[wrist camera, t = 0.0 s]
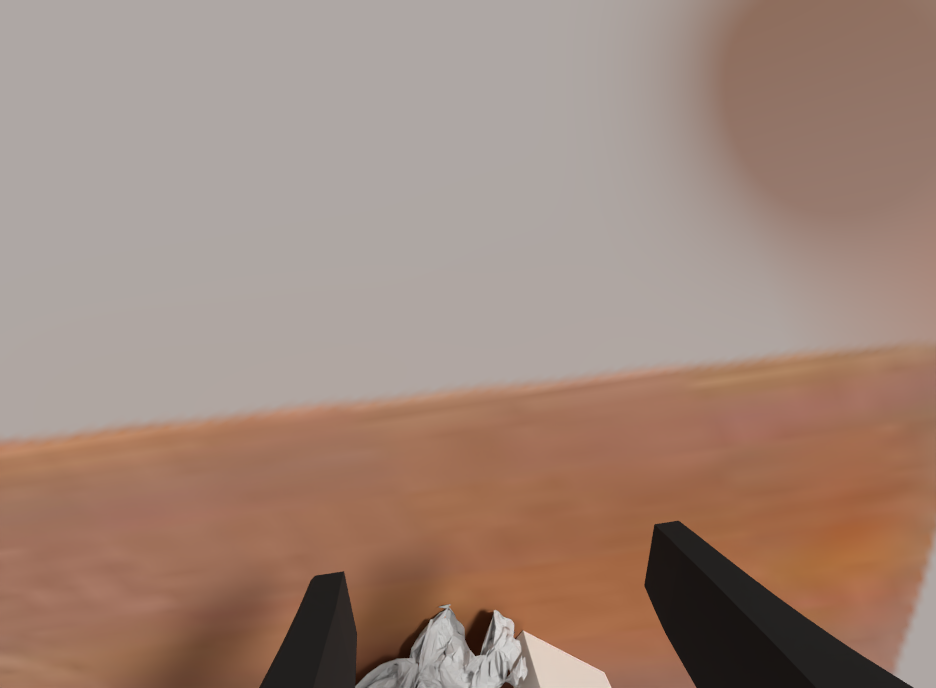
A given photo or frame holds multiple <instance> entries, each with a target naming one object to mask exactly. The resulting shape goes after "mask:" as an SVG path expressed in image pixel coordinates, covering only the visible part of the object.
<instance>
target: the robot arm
mask: <svg viewBox="0 0 936 688" xmlns="http://www.w3.org/2000/svg"><path fill="white" fill-rule="evenodd" d="M644 586H645V588H646V590H647V593H648V595H649V597H650V600H651V602H652V604H653V607H654V609H655V611H656V614H657V616H658V618H659V620H660V622H661V625H662V627H663V629H664V631H665V633H666V635H667V637H668V638H669V640H670V642H671V644H672V646H673V647H674V649H675V651H676V653H677V654H678V656H679V658H680V660H681V661H682V663H683V665H684V667H685V668H686V670H687V672H688V674H689V675H690V677H691V679H692V680H693V682H694V684H695V686H696V687H697V688H913V687H912V686H910V685H908V684H907V683H905V682H903V681H902V680H900V679H899V678H897V677H895V676H894V675H892V674H891V673H889V672H887V671H886V670H884V669H883V668H881V667H879V666H878V665H876V664H875V663H873V662H872V661H870V660H868V659H867V658H865V657H864V656H862V655H860V654H859V653H857V652H856V651H854V650H853V649H851V648H850V647H848V646H847V645H845V644H844V643H842V642H841V641H839V640H838V639H836V638H835V637H833V636H832V635H830V634H829V633H828V632H826V631H825V630H823V629H822V628H820V627H819V626H817V625H816V624H815V623H813V622H812V621H810V620H809V619H807V618H806V617H804V616H803V615H802V614H800V613H799V612H797V611H796V610H795V609H793V608H792V607H791V606H789V605H788V604H786V603H785V602H784V601H782V600H781V599H780V598H778V597H777V596H775V595H774V594H773V593H771V592H770V591H769V590H767V589H766V588H765V587H763V586H762V585H761V584H759V583H758V582H757V581H755V580H754V579H753V578H752V577H750V576H749V575H748V574H746V573H745V572H744V571H742V570H741V569H740V568H739V567H737V566H736V565H735V564H733V563H732V562H731V561H730V560H728V559H727V558H726V557H724V556H723V555H722V554H721V553H719V552H718V551H717V550H716V549H714V548H713V547H712V546H710V545H709V544H708V543H707V542H705V541H704V540H703V539H702V538H700V537H699V536H698V535H696V534H695V533H694V532H693V531H691V530H690V529H689V528H687V527H686V526H685V525H683V524H682V523H681V522H680V521H674V522H667V523H661V524H655V525H654V531H653V537H652V543H651V549H650V555H649V561H648V567H647V573H646V579H645V585H644ZM356 648H357V632H356V627H355V622H354V617H353V613H352V608H351V603H350V598H349V593H348V589H347V584H346V579H345V574H344V572H337V573H331V574H324V575H317V576H315V577H314V578H313V579H312V580H311V581H310V584H309V586H308V588H307V591H306V593H305V596H304V598H303V600H302V602H301V605H300V607H299V609H298V611H297V614H296V616H295V618H294V620H293V622H292V624H291V626H290V628H289V631H288V633H287V635H286V637H285V639H284V641H283V643H282V645H281V647H280V649H279V651H278V653H277V655H276V657H275V659H274V660H273V662H272V664H271V666H270V668H269V670H268V672H267V674H266V676H265V678H264V680H263V682H262V684H261V685H260V687H259V688H355V677H356Z"/></svg>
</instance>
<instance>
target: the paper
mask: <svg viewBox="0 0 936 688" xmlns="http://www.w3.org/2000/svg"><path fill="white" fill-rule="evenodd" d="M450 605H451V604H449V605H444V606H440V607H441V608H447V609H446V610H445V611H442V612H440V613H439V614H438V615H437V616H436V617H435V618H434V619H430V622H429V623H428V624H427V626H426V627H425V628H424V630H423V631H422V632H421V633H420V634H419V636H418V638H417V639H416V641H415V643H414V645H413V647H412V648H411V653H410V658H403V659H398V658H396V659H395V660H391V661H389V662H386V663H385V662H384V663H383V664H381V665H379V666H378V667H377V668H375V669H374V670H372V671H371V672H369V673H368V674H367V675H366V676H365V677H364V678H363V679H362V680H361V681H360V682H359V683H358V684H357V685H356V686H355V688H500V687H501V686H502V685H503V684H504V683H505V682H508V683H510V684H511V685H513V686H514V687H520V686H518V681H519V678H520V677H521V676H522V678H523V681H524V679H525V677H526V676H527V670H528V669H527V667H526V661H525V657H524V658H523V660H522V656H521V658H520V660H519V661H518V663H517V666H516V667H515V668H514V669H513V670H512V672H511V673H510V675H509V676H508V677H507V673H508V669H509V670H510V671H511V669H512V666H513V663H514V662H515V661H516V659H517V658H518V656H519V655H520V653H521V644H520V641H518V640H515V638H513V634H514V633H515V632H514V623H513V621H512V620H511V619H508V618H505V617H503V616H502V615H501V614H500V613H499V611H496V610H494V615H493V618H492V620H491V623H490V625H489V628H488V631H487V634H486V636H485V639H484V642H483V646H482V651H481V654H480V655H479V656H475V655H474V654H473V653H472V652H471V650H470V649H469V647H468V645H467V643H466V641H465V629H464V627H463V625H462V624H461V623H460V622H459V621H458V620H456V618H455V614H454V613H453V611H452V610H451V609H450V608H449V607H448V606H450ZM448 609H450V610H448ZM445 616H446V618H444V617H445ZM417 662H418V663H419V667H418V663H417ZM506 677H507V678H506Z"/></svg>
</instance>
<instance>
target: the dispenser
mask: <svg viewBox="0 0 936 688" xmlns="http://www.w3.org/2000/svg"><path fill="white" fill-rule="evenodd" d="M515 640H518V641H520V644H521V653H520V655H519V656H518V658H517V659H516V661H515V662H514V663H513V666H512V669H511V671H510V670H509V671H510V673H511V672H512V670H513V669H514V668H515V667H516V666H517V663H518V661H519V660H520V658H521V656H522V660H523V658H524V657H525V661H526V667H527V669H528V670H527V676H526V677H525V679H524V681H523V678H522V676H521V677H520V678H519V681H518V686H520V687H514V686H513V687H514V688H611V686H610V684H609V682H608V679H607V677H606V675H605V673H604V672H602V671H600V670H599V669H597V668H595V667H593V666H591V665H589V664H587V663H585V662H583V661H581V660H579V659H577V658H575V657H573V656H571V655H570V654H568V653H566V652H564V651H562V650H560V649H558V648H556V647H554V646H552V645H550V644H548V643H546V642H544V641H543V640H541V639H539V638H537V637H535V636H533V635H531V634H529V633H527V632H525V631H522V632H521V633H520V635H519V636H518V637H517V638H516V639H515Z"/></svg>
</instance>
